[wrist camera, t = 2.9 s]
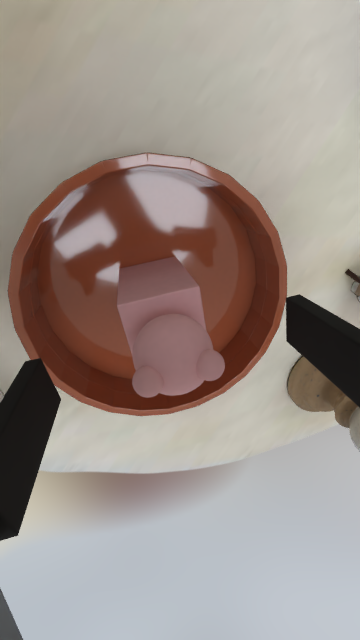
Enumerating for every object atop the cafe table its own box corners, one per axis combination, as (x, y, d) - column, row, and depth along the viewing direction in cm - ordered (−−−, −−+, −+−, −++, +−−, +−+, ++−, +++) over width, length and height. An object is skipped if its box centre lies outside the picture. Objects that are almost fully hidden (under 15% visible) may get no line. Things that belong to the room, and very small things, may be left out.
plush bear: (118, 268, 20) (113, 346, 10) (175, 255, 21) (225, 318, 11) (135, 326, 23) (144, 437, 12) (186, 313, 23) (236, 411, 13)
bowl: (-17, 190, 17) (-59, 190, 13) (253, 139, 19) (287, 125, 15) (80, 402, 26) (72, 441, 22) (262, 353, 27) (286, 381, 23)
